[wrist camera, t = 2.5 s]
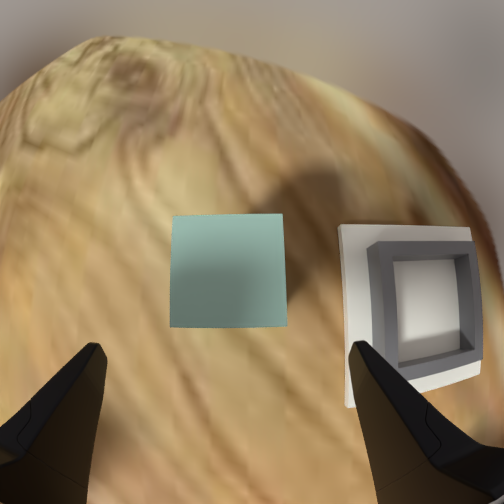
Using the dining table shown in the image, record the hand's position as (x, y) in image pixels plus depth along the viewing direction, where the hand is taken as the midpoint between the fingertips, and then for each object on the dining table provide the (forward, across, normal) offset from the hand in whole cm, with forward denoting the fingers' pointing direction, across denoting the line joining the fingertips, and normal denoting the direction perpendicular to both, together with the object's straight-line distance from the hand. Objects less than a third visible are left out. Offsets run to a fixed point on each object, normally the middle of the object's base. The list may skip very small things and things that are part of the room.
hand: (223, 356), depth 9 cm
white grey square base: (+8, -14, +6) cm, 17 cm away
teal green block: (+9, 0, +5) cm, 11 cm away
